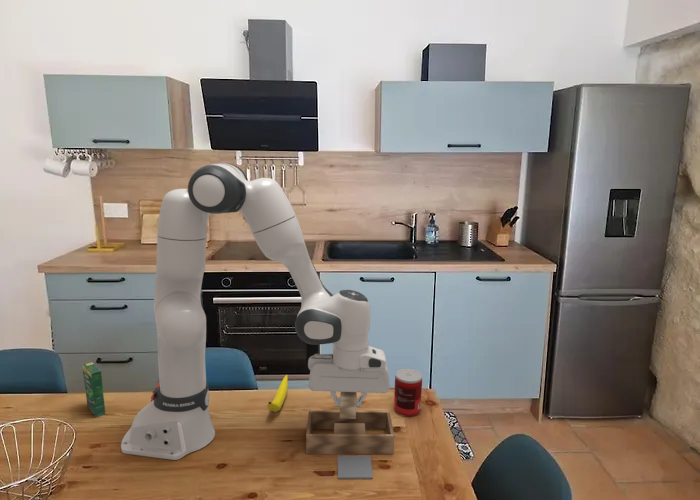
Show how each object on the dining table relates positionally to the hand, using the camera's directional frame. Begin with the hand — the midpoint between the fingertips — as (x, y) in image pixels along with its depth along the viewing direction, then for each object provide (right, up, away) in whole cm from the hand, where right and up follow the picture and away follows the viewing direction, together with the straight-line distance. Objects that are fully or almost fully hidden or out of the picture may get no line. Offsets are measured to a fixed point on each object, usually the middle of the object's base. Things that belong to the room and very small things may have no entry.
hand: (347, 406), depth 127 cm
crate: (0, -10, +3) cm, 10 cm away
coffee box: (-71, -6, +14) cm, 73 cm away
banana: (-20, -6, +19) cm, 28 cm away
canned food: (+17, -7, +18) cm, 25 cm away
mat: (+2, -12, -8) cm, 15 cm away
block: (0, -2, +1) cm, 2 cm away
